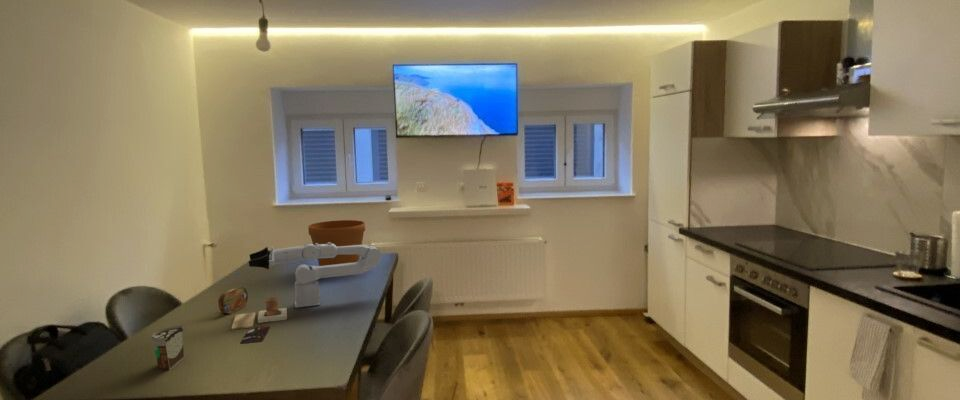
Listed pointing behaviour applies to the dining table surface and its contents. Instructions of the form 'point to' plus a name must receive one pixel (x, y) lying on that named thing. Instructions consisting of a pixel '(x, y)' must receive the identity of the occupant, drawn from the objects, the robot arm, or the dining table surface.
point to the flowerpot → (338, 238)
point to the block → (272, 306)
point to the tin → (233, 300)
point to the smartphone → (255, 335)
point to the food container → (168, 346)
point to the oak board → (243, 321)
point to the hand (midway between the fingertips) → (249, 260)
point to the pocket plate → (272, 318)
